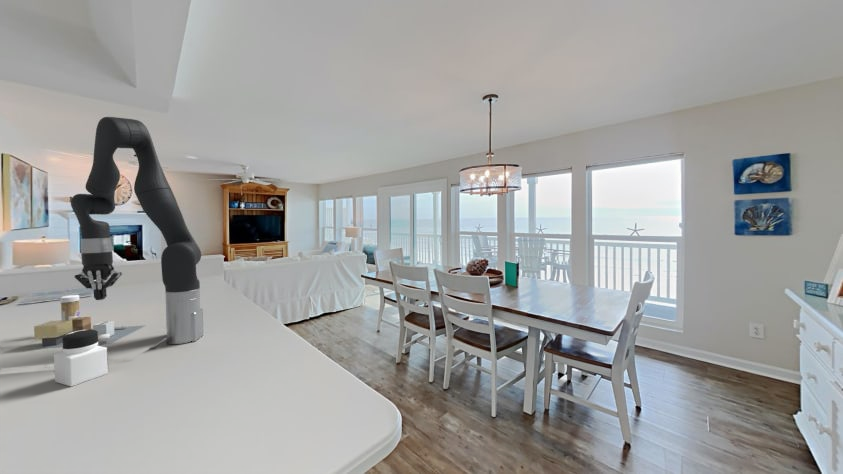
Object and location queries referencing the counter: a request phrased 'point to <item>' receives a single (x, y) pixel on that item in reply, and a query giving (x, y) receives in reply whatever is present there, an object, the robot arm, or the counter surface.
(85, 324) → the walnut fader
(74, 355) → the medicine bottle
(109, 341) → the board
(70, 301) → the sprinkles bottle
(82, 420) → the counter surface
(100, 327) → the grey fader
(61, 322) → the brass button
